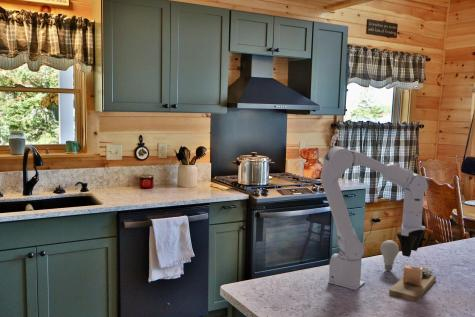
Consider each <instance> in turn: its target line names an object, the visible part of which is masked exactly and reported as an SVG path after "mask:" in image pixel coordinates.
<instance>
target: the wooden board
mask: <svg viewBox="0 0 475 317" xmlns="http://www.w3.org/2000/svg"><path fill="white" fill-rule="evenodd" d="M425 274H426V273H425ZM436 277H437V276H436V275H434V274H430V275H429V276H428V278H427V277H422V284H421V285H420V286H417V285H412V284H408V283H405V282H403V277H402V278H401V279H399V280H398V281H397V282H396V283H395V284H394V285H393V286H392V287H390V289H389V291H388V295H390V296H393V297H397V298H402V299H405V300H408V301H413V302H415V303H417V301H418V300H419V299H420V298H422V296H423V295H424V294H425V292H427V290H428V289H429V288H430V287H431V286H432V284H434V282H435V281H436V280H437V278H436Z"/></svg>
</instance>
